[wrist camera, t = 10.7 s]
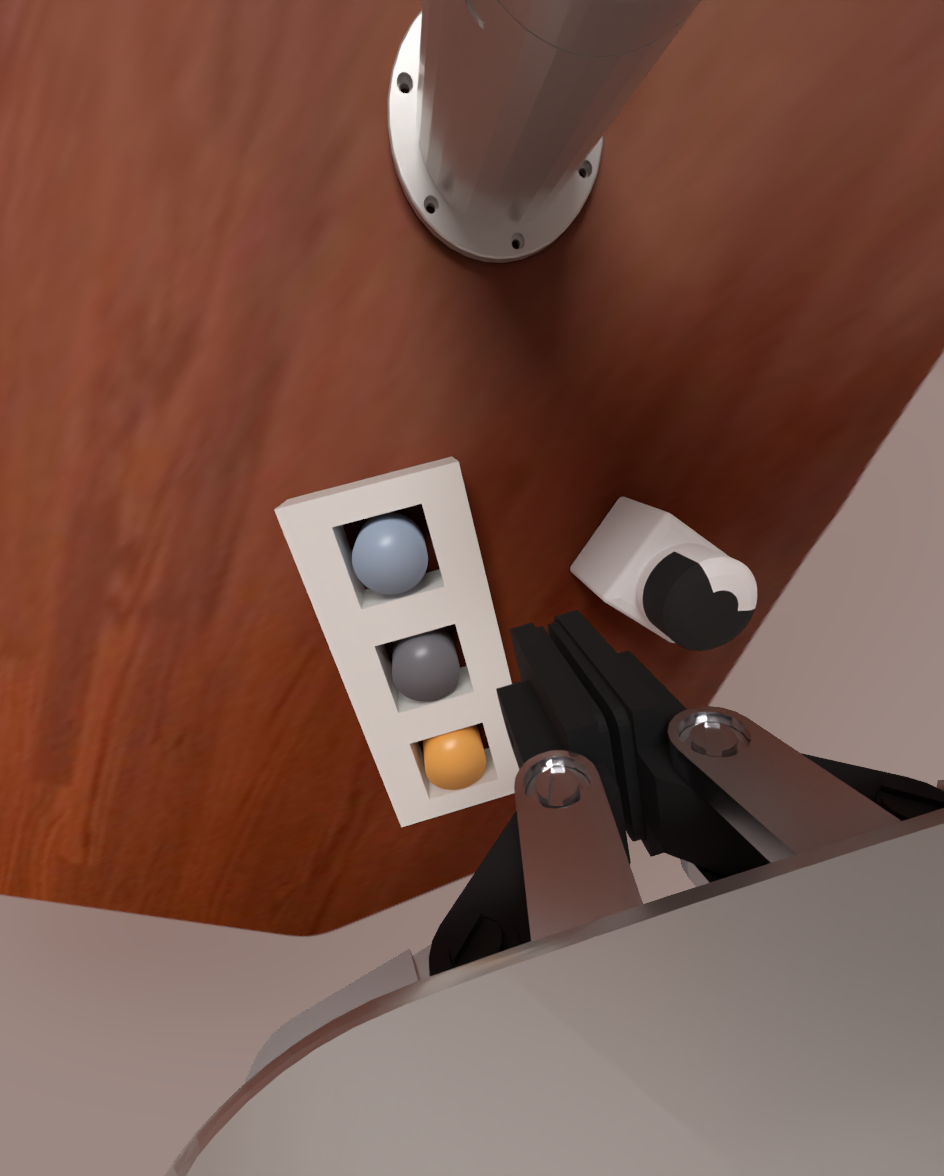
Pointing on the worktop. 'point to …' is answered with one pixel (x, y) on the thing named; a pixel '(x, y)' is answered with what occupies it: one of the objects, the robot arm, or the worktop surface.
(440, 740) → the orange button
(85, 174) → the worktop surface
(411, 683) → the charcoal button
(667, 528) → the medicine bottle
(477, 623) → the frame
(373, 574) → the slate button
